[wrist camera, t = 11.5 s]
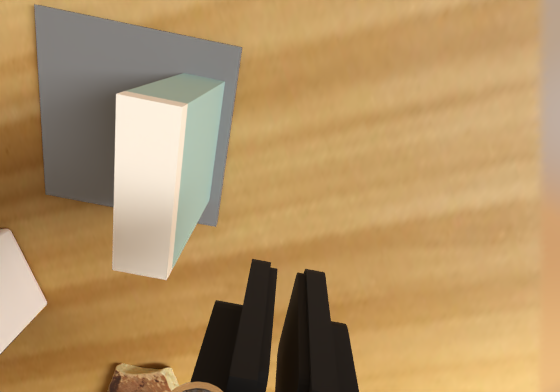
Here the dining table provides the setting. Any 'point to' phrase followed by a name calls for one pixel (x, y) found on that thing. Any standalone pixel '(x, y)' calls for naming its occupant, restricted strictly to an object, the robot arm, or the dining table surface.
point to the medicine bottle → (16, 291)
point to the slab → (162, 169)
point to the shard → (142, 379)
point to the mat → (113, 95)
